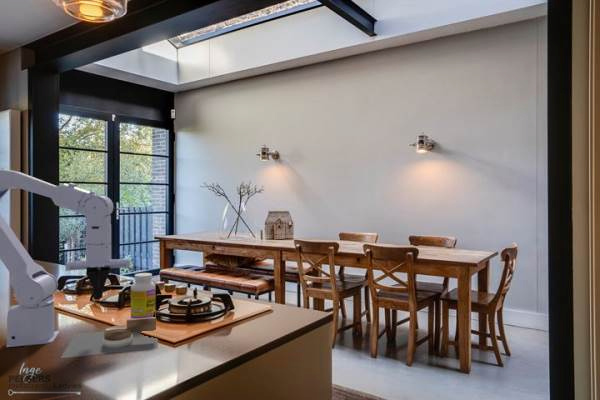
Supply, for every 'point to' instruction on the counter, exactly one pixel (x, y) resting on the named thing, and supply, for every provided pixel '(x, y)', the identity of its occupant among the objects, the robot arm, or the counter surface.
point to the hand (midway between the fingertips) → (99, 297)
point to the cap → (130, 328)
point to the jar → (117, 343)
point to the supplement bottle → (143, 296)
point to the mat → (94, 346)
